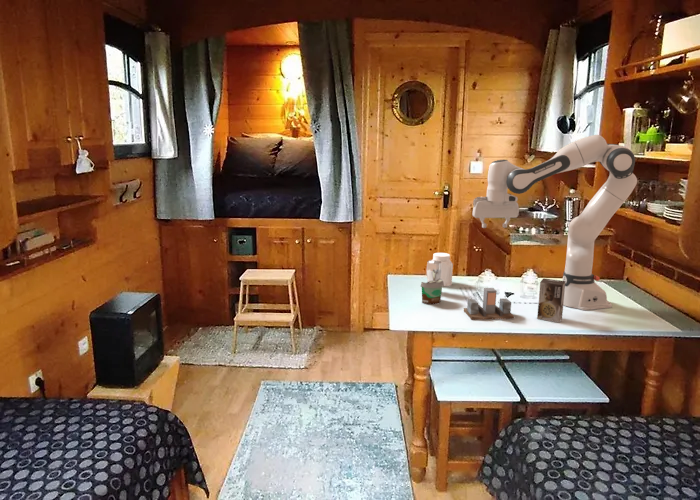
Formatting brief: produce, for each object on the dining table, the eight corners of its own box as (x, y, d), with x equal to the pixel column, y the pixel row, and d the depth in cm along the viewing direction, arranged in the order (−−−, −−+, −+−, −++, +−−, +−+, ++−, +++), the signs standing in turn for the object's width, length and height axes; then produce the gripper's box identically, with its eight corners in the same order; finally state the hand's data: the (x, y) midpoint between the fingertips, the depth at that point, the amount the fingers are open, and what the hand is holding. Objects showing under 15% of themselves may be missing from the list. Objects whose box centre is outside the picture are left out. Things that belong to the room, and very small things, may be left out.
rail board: (504, 309, 236) (505, 296, 235) (513, 318, 226) (515, 304, 224) (463, 310, 235) (464, 296, 233) (471, 319, 224) (472, 305, 223)
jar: (429, 285, 270) (430, 256, 266) (428, 280, 279) (429, 251, 276) (452, 286, 269) (454, 257, 265) (450, 281, 278) (452, 252, 275)
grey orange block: (491, 310, 232) (493, 287, 230) (495, 313, 228) (496, 290, 225) (482, 310, 232) (484, 287, 229) (485, 314, 227) (487, 291, 225)
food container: (430, 307, 239) (431, 285, 236) (419, 303, 243) (420, 282, 241) (448, 301, 246) (449, 280, 244) (438, 298, 251) (439, 277, 249)
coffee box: (562, 318, 227) (566, 281, 223) (559, 323, 221) (563, 284, 218) (539, 314, 231) (543, 277, 228) (536, 318, 226) (539, 281, 222)
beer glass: (440, 295, 256) (441, 264, 252) (425, 293, 257) (426, 263, 254) (440, 290, 262) (442, 260, 259) (426, 289, 264) (427, 259, 260)
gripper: (475, 197, 237) (473, 229, 240) (521, 197, 239) (518, 228, 242) (471, 195, 243) (469, 226, 247) (515, 195, 245) (513, 226, 248)
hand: (494, 227), depth 244 cm, fingers open, 8 cm apart
